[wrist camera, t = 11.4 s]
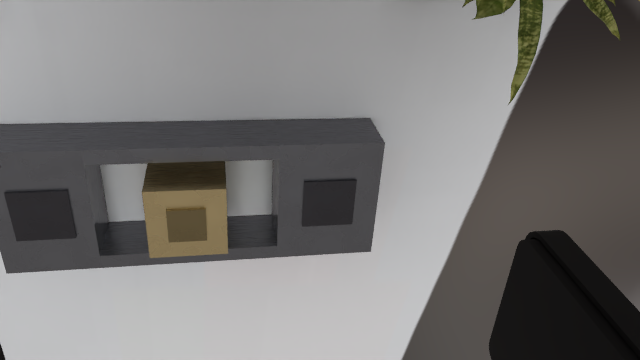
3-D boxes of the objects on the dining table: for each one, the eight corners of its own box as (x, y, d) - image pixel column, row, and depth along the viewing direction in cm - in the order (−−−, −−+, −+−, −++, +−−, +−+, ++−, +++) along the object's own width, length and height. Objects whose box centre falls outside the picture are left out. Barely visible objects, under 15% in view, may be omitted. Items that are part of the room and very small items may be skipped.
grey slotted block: (370, 118, 40) (385, 144, 37) (358, 221, 45) (371, 253, 41) (-6, 124, 36) (-30, 154, 32) (23, 237, 40) (5, 275, 37)
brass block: (223, 145, 39) (226, 190, 34) (225, 204, 42) (228, 255, 37) (150, 147, 38) (141, 193, 33) (157, 207, 41) (149, 260, 36)
